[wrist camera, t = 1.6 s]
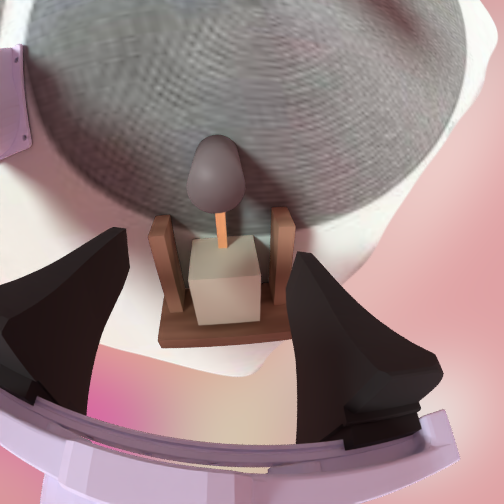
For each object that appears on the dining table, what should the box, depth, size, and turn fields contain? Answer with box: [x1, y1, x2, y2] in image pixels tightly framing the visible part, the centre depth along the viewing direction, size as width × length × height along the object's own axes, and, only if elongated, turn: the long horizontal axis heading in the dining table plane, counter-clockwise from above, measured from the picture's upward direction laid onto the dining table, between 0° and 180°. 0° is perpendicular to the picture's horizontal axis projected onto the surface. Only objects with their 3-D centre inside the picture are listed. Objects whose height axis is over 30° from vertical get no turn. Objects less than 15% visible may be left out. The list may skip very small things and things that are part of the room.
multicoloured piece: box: [187, 135, 261, 325], centre depth 19 cm, size 14×5×6 cm, turn 1°
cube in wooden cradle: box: [148, 207, 296, 348], centre depth 21 cm, size 9×12×6 cm
